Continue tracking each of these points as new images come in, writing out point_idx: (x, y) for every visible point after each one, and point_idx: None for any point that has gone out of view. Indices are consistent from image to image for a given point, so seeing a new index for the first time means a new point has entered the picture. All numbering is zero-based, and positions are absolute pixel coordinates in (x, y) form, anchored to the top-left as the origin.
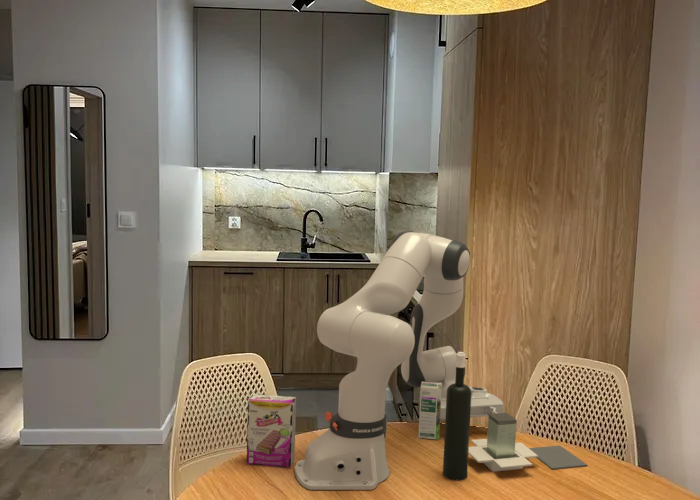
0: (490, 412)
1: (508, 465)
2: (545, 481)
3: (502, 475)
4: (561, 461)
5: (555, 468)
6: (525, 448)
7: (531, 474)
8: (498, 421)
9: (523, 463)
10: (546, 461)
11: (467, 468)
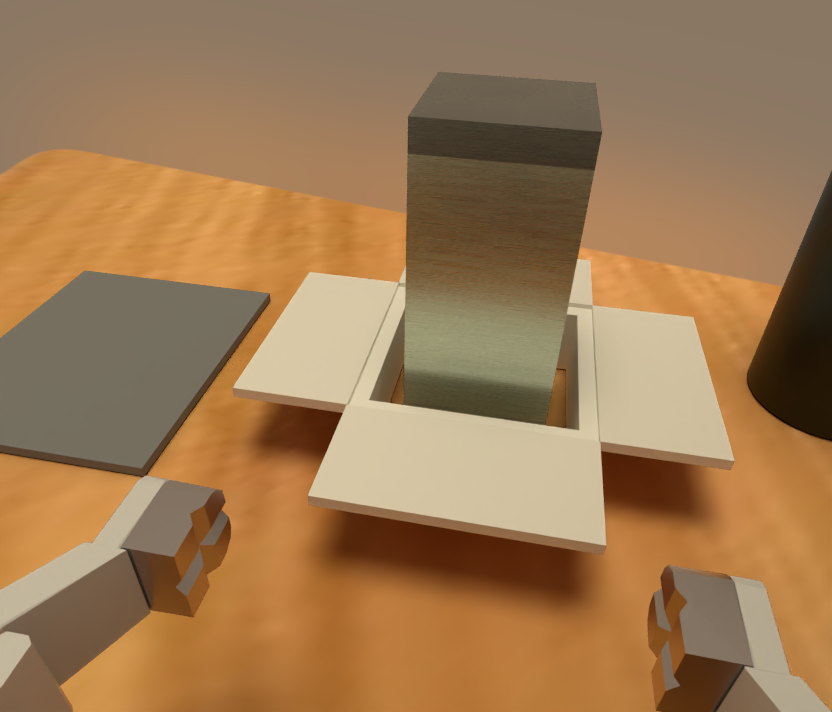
0: (180, 559)
1: None
2: (392, 263)
3: None
4: (154, 313)
5: (251, 294)
6: (292, 332)
7: None
8: (592, 86)
9: None
10: (224, 332)
11: (764, 331)
